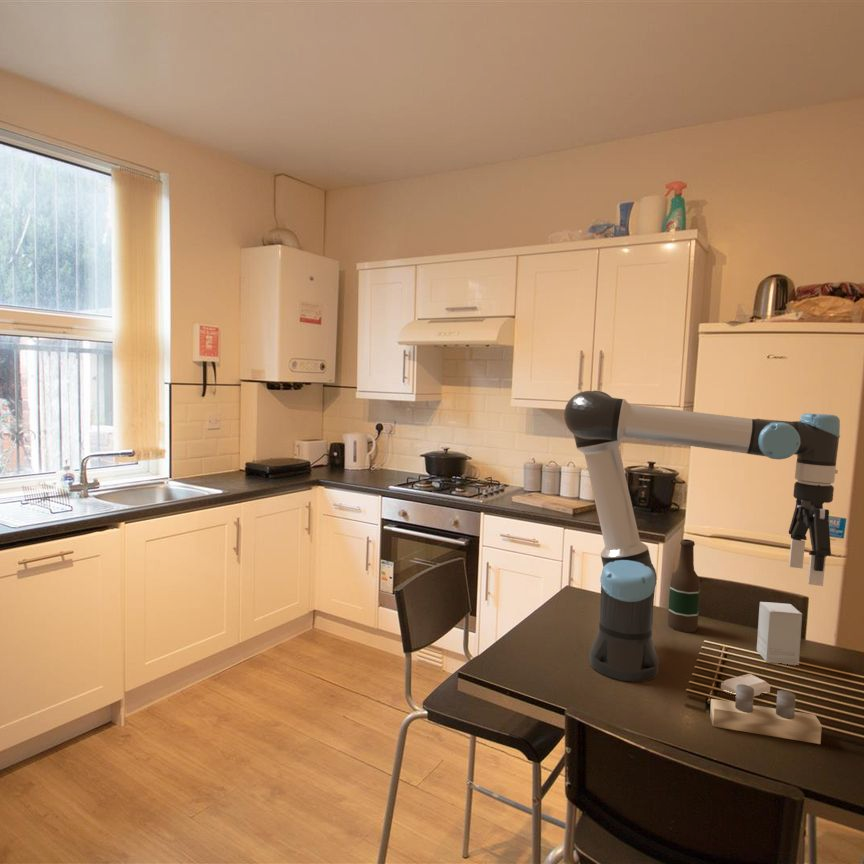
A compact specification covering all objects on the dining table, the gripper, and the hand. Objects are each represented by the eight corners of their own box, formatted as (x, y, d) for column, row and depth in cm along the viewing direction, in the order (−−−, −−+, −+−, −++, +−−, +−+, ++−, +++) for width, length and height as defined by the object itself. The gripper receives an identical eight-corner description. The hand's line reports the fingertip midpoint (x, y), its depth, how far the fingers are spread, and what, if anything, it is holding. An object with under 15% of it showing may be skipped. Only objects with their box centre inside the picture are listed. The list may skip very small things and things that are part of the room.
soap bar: (720, 691, 132) (721, 679, 132) (749, 683, 136) (749, 671, 135) (740, 701, 127) (741, 689, 127) (769, 693, 131) (770, 681, 131)
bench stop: (713, 726, 117) (715, 688, 116) (709, 715, 121) (712, 678, 120) (820, 744, 112) (823, 704, 111) (813, 732, 116) (816, 694, 115)
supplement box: (799, 666, 144) (803, 614, 143) (765, 662, 146) (769, 610, 145) (788, 653, 151) (791, 603, 151) (755, 650, 153) (758, 600, 152)
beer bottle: (664, 620, 171) (669, 536, 169) (693, 623, 170) (698, 537, 168) (671, 631, 163) (676, 543, 162) (701, 634, 162) (707, 544, 161)
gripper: (855, 493, 124) (845, 595, 126) (814, 476, 148) (805, 562, 150) (814, 489, 126) (804, 590, 128) (779, 474, 150) (771, 559, 152)
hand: (804, 575), depth 139 cm, fingers open, 13 cm apart
